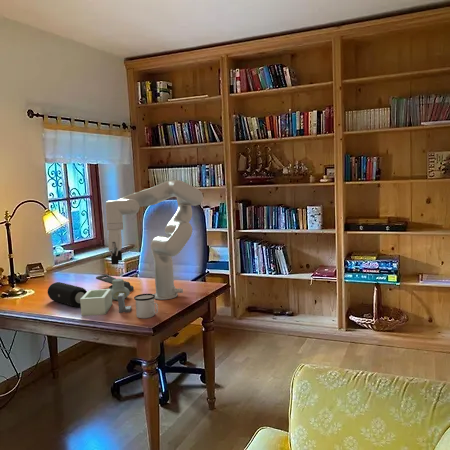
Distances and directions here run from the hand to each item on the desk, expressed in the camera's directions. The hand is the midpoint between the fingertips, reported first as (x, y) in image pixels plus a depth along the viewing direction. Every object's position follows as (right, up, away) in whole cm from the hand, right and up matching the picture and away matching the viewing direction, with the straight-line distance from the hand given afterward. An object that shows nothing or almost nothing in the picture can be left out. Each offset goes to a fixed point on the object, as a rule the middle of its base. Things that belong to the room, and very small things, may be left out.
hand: (116, 262), depth 226 cm
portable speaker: (-28, -23, +16) cm, 39 cm away
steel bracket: (+4, -23, -1) cm, 23 cm away
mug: (+17, -24, -11) cm, 31 cm away
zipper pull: (-10, -19, +41) cm, 46 cm away
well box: (-10, -23, +2) cm, 25 cm away
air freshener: (-3, -21, +20) cm, 29 cm away
